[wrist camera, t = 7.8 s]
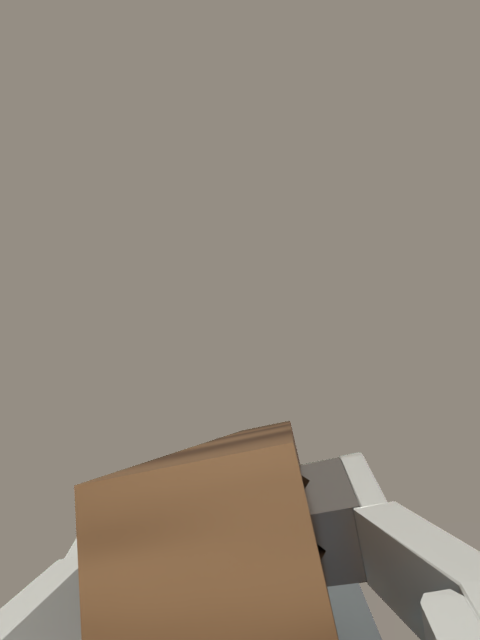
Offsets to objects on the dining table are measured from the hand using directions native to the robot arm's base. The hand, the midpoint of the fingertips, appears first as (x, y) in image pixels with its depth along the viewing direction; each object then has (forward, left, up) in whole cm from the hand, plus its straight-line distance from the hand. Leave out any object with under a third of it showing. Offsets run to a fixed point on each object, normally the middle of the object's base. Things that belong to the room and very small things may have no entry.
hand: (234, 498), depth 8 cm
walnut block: (0, -6, -2) cm, 7 cm away
